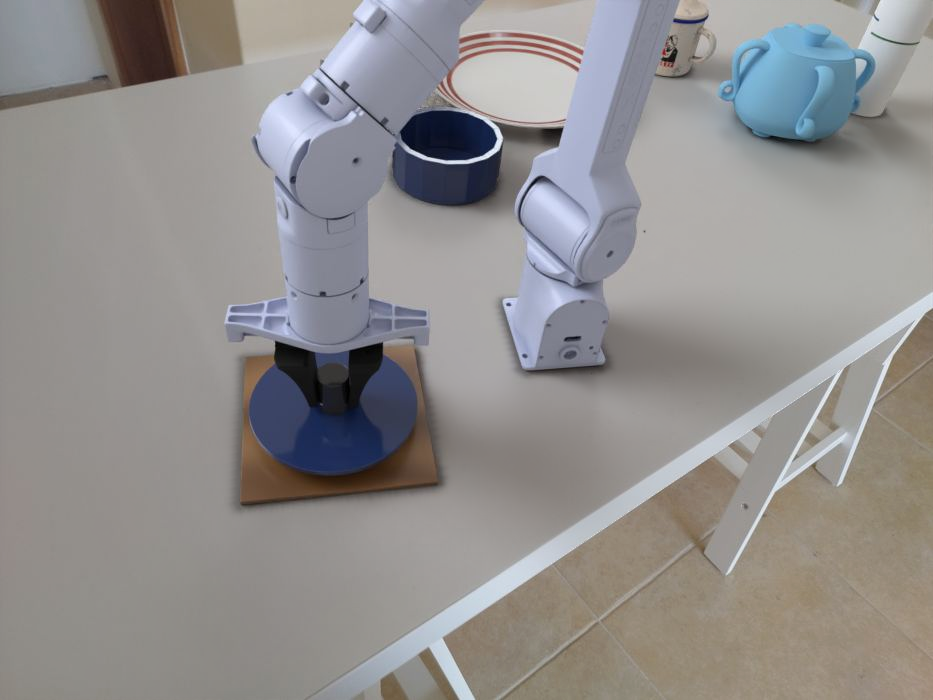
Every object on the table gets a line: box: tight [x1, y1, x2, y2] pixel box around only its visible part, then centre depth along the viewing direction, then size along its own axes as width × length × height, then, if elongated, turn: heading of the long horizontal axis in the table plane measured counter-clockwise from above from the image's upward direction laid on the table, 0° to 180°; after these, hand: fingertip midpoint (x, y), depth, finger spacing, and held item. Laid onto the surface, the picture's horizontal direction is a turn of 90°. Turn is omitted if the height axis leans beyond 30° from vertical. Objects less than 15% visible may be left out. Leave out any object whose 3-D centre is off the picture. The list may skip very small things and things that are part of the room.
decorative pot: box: [717, 22, 876, 142], centre depth 100 cm, size 16×16×14 cm
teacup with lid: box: [655, 0, 717, 77], centre depth 111 cm, size 12×9×12 cm
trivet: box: [239, 345, 439, 505], centre depth 62 cm, size 15×15×1 cm
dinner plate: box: [433, 29, 585, 130], centre depth 103 cm, size 28×27×3 cm
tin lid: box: [249, 350, 418, 476], centre depth 59 cm, size 14×14×5 cm
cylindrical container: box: [851, 0, 933, 118], centre depth 103 cm, size 7×7×25 cm
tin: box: [391, 106, 505, 206], centre depth 87 cm, size 13×13×5 cm
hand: (334, 398), depth 60 cm, fingers closed on tin lid, 2 cm apart
